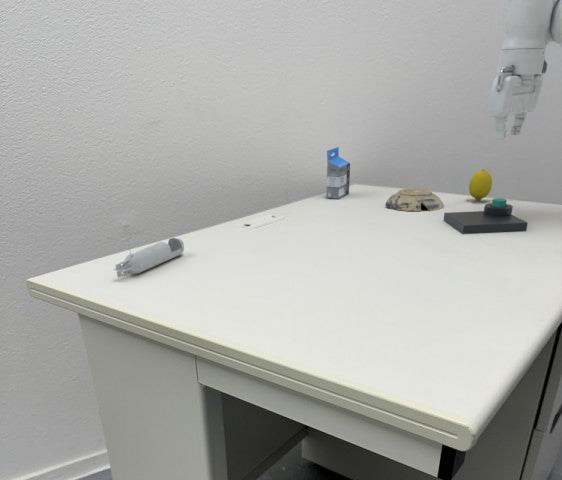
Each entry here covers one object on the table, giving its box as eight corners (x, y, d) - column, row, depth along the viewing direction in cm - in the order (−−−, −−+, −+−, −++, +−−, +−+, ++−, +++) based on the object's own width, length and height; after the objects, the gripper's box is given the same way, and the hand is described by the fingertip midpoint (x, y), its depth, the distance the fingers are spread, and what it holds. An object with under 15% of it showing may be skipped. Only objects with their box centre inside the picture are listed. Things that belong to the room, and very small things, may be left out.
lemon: (493, 202, 142) (498, 169, 138) (475, 204, 141) (480, 171, 137) (480, 198, 147) (484, 166, 143) (462, 200, 145) (467, 168, 141)
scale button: (502, 205, 125) (503, 197, 124) (507, 208, 122) (509, 200, 121) (489, 206, 125) (490, 198, 124) (494, 209, 122) (496, 201, 121)
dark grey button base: (502, 217, 128) (505, 202, 126) (528, 231, 117) (531, 214, 115) (442, 220, 127) (444, 205, 125) (462, 234, 116) (464, 217, 114)
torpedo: (171, 251, 110) (167, 219, 106) (190, 254, 108) (187, 221, 104) (108, 279, 96) (101, 242, 92) (129, 283, 94) (122, 245, 91)
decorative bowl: (417, 197, 150) (372, 203, 144) (419, 183, 148) (373, 188, 142) (455, 208, 138) (408, 215, 132) (458, 193, 136) (410, 199, 130)
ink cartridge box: (339, 199, 150) (340, 151, 144) (325, 198, 151) (326, 150, 145) (349, 193, 157) (351, 147, 151) (336, 192, 158) (338, 146, 152)
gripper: (517, 65, 106) (504, 142, 113) (550, 64, 119) (537, 133, 126) (485, 66, 109) (475, 141, 116) (521, 65, 123) (509, 132, 130)
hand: (507, 137), depth 121 cm, fingers open, 8 cm apart
